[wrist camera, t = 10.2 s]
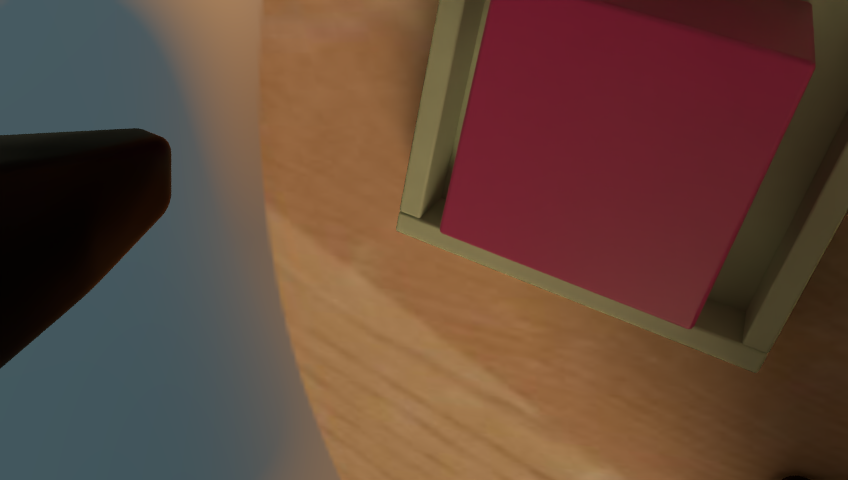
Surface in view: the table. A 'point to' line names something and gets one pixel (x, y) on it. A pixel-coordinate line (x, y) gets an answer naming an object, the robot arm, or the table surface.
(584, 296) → the tray
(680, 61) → the mulberry block
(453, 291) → the table surface
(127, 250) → the robot arm
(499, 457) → the table surface
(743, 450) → the table surface
